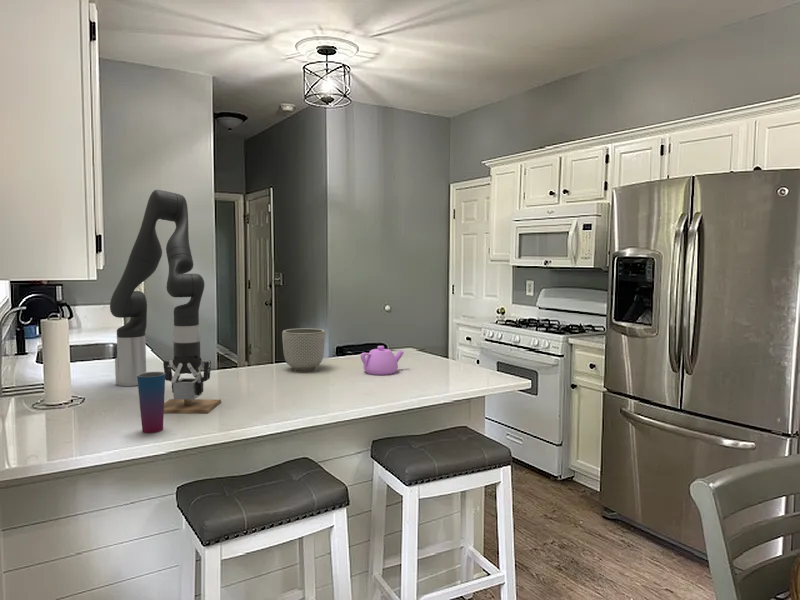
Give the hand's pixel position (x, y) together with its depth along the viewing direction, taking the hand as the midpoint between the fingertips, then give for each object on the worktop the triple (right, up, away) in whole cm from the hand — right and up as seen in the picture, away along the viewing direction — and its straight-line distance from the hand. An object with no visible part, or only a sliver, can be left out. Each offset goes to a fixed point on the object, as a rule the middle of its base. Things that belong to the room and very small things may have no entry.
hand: (188, 394), depth 169 cm
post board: (0, -4, 0) cm, 4 cm away
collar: (0, -1, 0) cm, 1 cm away
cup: (-1, -6, -22) cm, 22 cm away
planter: (+25, 0, +58) cm, 63 cm away
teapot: (+57, -1, +55) cm, 79 cm away
